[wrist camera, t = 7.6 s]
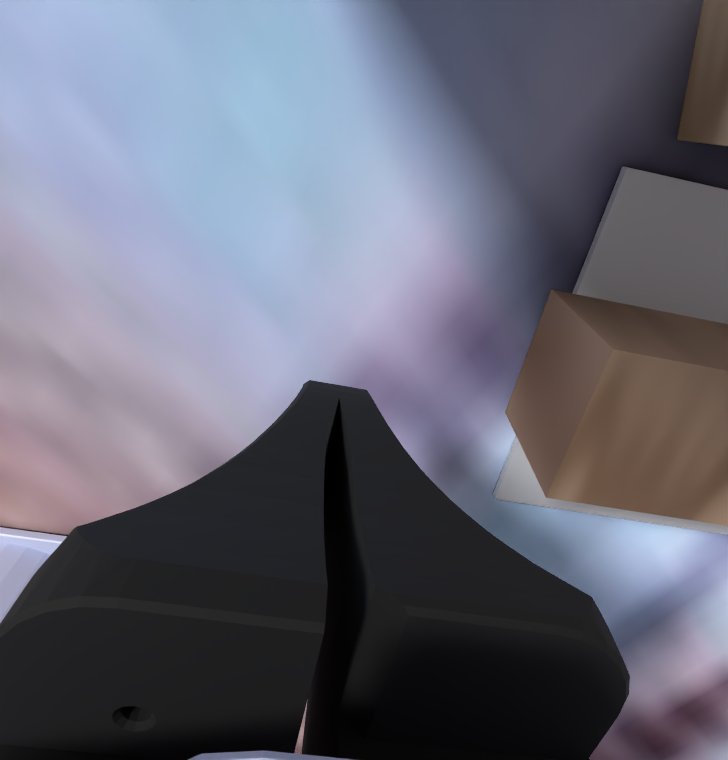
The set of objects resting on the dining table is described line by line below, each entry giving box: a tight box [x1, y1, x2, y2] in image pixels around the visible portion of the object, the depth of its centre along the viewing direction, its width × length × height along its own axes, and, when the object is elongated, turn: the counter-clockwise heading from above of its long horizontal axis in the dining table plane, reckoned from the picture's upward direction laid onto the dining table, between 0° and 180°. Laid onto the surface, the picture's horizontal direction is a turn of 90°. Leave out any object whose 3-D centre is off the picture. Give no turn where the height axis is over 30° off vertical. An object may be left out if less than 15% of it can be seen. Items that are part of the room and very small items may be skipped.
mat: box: [493, 166, 728, 535], centre depth 18 cm, size 12×12×1 cm
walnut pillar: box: [505, 289, 728, 526], centre depth 16 cm, size 4×4×10 cm
